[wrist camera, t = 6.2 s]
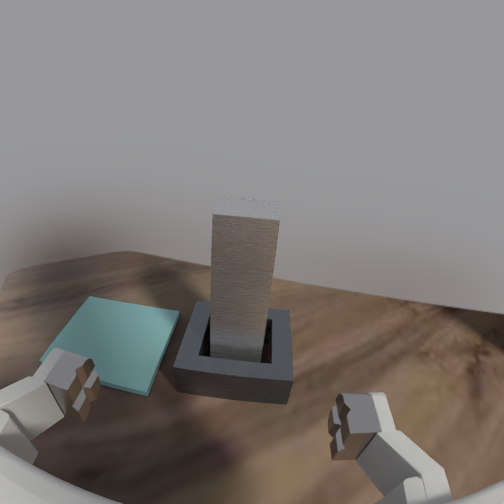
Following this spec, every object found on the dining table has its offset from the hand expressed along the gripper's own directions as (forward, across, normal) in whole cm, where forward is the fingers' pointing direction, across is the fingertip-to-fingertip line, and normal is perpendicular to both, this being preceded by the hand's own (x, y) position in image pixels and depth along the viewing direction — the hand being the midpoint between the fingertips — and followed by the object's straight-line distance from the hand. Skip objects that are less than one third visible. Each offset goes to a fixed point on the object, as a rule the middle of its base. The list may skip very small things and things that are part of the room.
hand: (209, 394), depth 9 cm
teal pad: (+13, +12, +12) cm, 21 cm away
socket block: (+13, 0, +12) cm, 18 cm away
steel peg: (+13, 0, +12) cm, 18 cm away
